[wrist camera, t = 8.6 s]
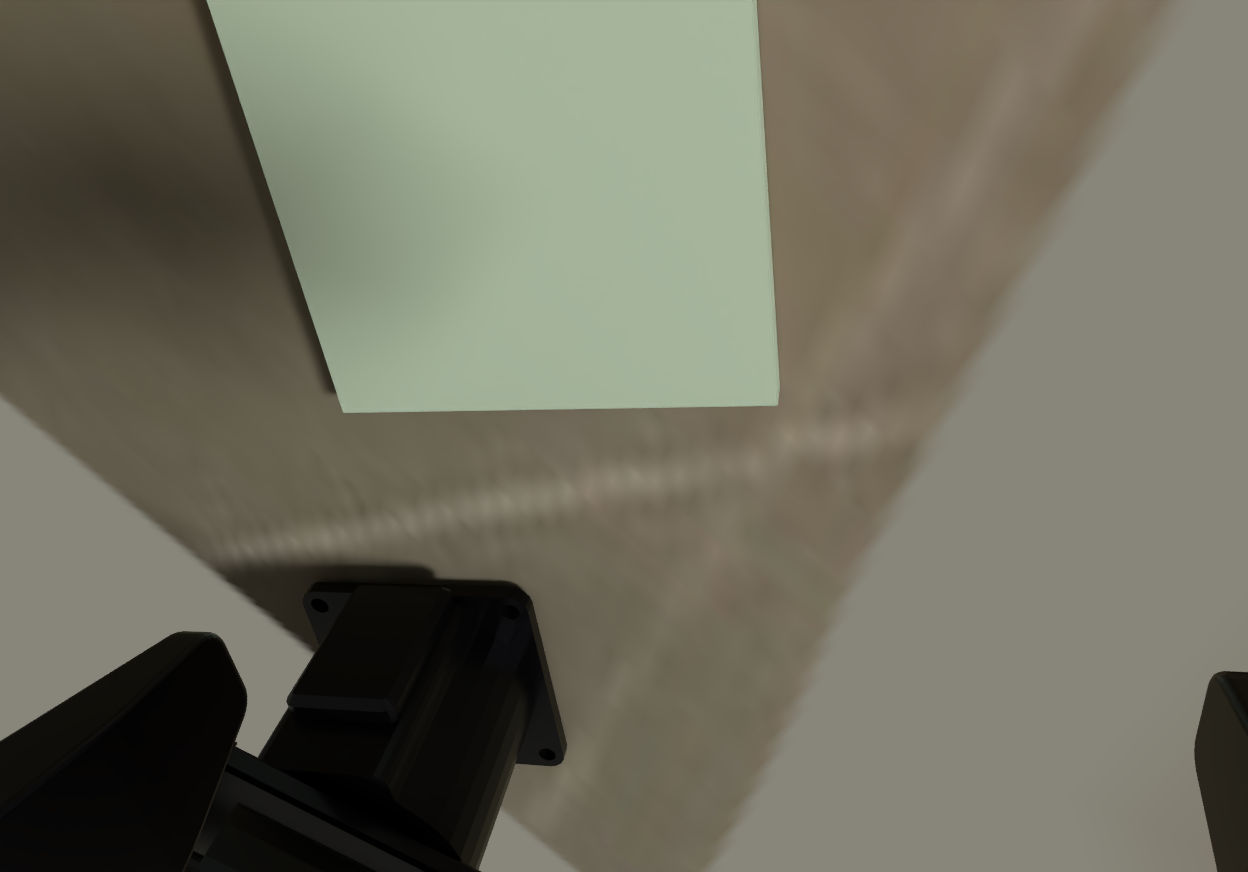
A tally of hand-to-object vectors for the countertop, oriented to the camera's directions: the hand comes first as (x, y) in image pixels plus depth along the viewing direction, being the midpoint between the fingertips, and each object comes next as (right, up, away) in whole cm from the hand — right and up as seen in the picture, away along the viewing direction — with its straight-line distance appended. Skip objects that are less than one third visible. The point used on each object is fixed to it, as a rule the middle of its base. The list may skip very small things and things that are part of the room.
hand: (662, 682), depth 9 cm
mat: (-2, +7, +11) cm, 13 cm away
